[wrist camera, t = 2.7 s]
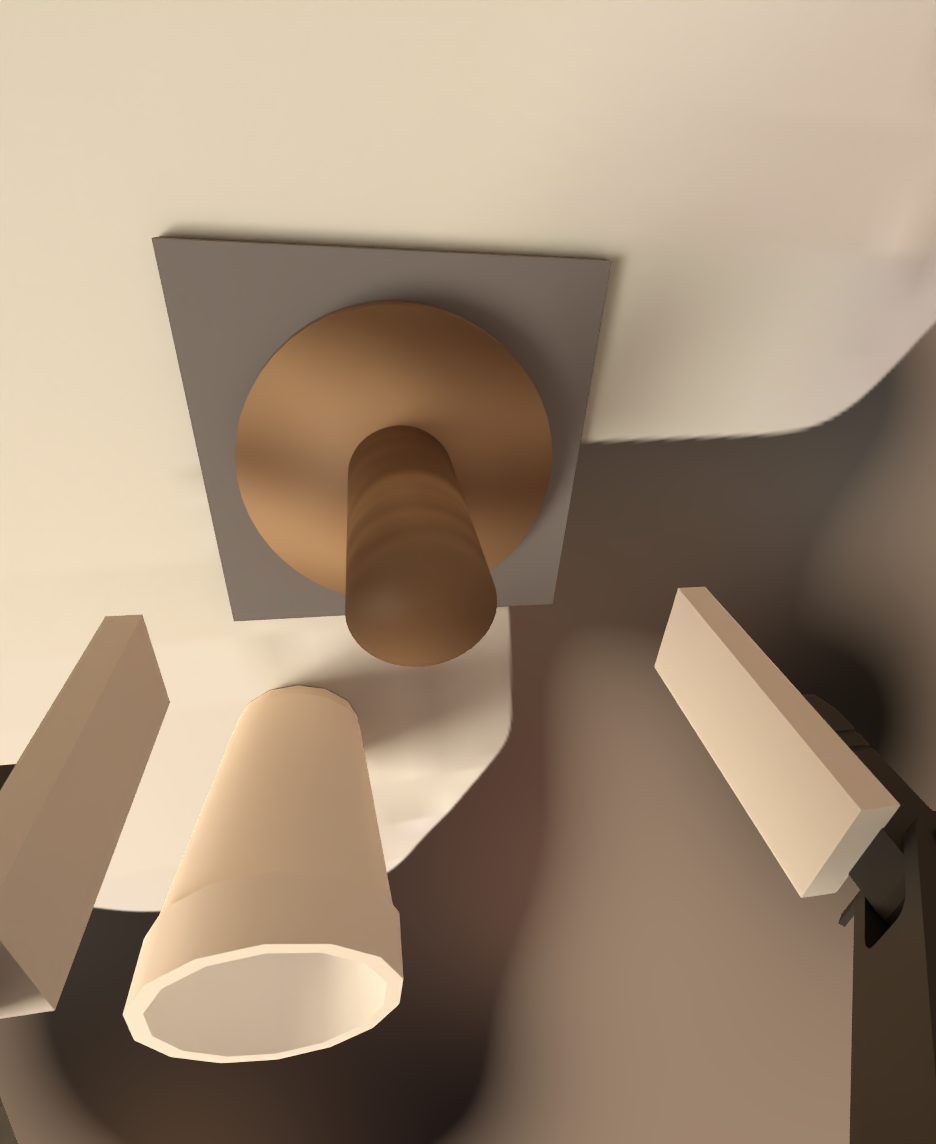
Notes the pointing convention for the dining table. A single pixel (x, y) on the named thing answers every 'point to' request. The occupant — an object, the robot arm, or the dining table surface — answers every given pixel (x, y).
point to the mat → (348, 277)
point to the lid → (396, 470)
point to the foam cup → (275, 898)
